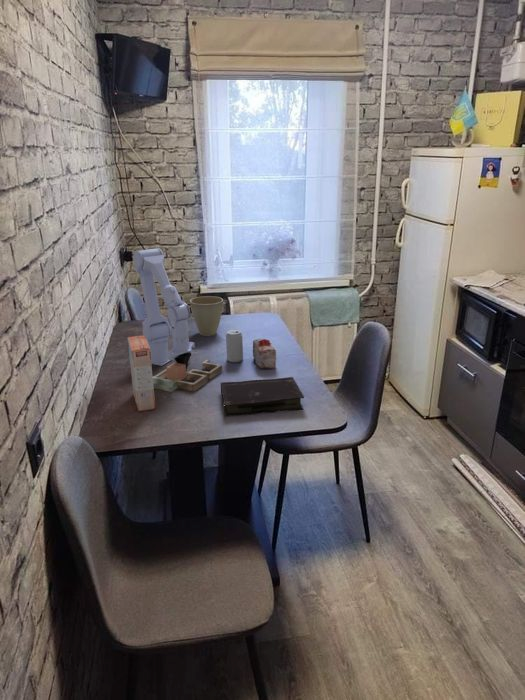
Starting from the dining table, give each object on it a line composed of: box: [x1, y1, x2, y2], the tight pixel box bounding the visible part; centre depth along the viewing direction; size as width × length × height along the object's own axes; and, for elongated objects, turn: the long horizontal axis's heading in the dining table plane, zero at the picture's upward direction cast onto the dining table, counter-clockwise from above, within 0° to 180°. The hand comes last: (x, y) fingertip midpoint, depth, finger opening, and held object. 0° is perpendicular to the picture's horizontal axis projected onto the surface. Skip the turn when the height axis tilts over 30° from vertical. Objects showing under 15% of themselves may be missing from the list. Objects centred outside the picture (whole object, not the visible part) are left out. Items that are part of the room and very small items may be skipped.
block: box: [165, 361, 187, 382], centre depth 177 cm, size 5×5×5 cm
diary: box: [220, 376, 305, 417], centre depth 160 cm, size 19×25×5 cm
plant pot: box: [189, 295, 224, 337], centre depth 223 cm, size 15×15×16 cm
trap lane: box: [153, 358, 223, 393], centre depth 178 cm, size 17×25×4 cm
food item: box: [252, 338, 277, 370], centre depth 189 cm, size 14×8×10 cm, turn 16°
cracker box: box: [127, 334, 156, 412], centre depth 158 cm, size 14×6×21 cm, turn 20°
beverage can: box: [225, 329, 244, 363], centre depth 192 cm, size 6×6×12 cm
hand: (183, 371), depth 181 cm, fingers closed
